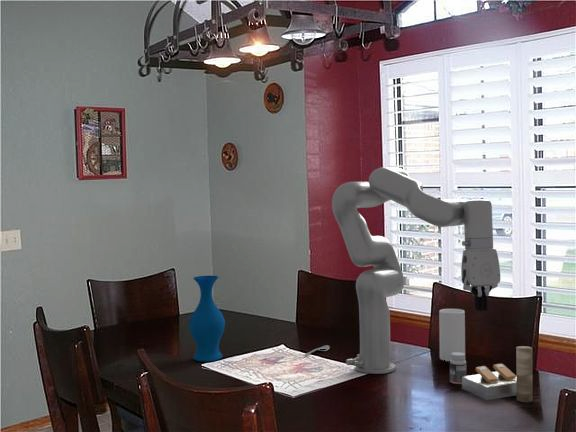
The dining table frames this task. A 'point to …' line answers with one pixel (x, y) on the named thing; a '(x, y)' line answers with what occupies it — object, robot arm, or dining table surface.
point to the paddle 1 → (486, 374)
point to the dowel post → (524, 373)
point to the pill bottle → (457, 367)
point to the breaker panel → (490, 386)
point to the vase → (207, 323)
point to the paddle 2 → (504, 371)
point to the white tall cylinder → (451, 332)
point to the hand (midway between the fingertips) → (481, 310)
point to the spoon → (319, 349)
